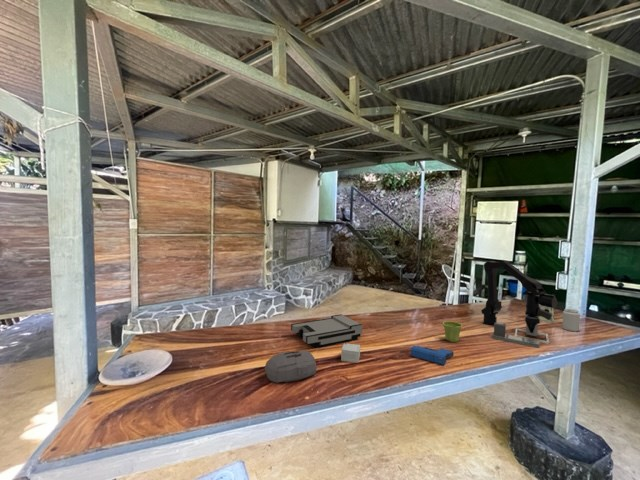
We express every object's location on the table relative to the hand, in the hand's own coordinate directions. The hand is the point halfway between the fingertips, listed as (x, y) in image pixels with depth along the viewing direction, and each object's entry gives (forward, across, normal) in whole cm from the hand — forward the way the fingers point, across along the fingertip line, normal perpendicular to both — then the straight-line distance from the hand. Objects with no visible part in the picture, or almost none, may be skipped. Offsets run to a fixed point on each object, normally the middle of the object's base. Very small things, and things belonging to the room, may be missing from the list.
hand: (531, 331), depth 154 cm
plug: (+2, 0, 0) cm, 2 cm away
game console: (+4, -74, +88) cm, 115 cm away
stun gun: (+4, -60, +37) cm, 71 cm away
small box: (+3, -86, +66) cm, 108 cm away
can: (+3, +29, -19) cm, 35 cm away
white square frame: (+3, 0, 0) cm, 3 cm away
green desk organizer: (+3, +43, -7) cm, 44 cm away
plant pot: (+3, -34, +34) cm, 48 cm away
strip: (+3, -13, +7) cm, 15 cm away
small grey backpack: (+3, -113, +77) cm, 137 cm away
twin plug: (+1, -13, +14) cm, 19 cm away
